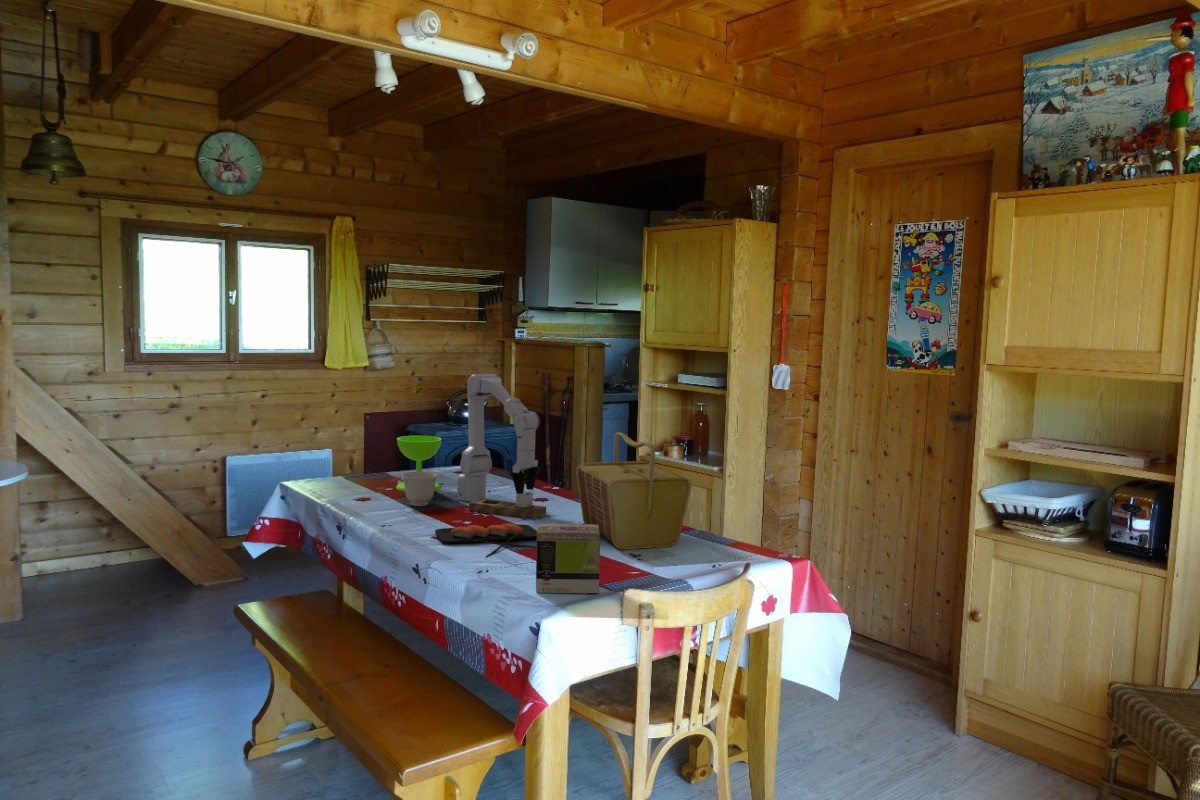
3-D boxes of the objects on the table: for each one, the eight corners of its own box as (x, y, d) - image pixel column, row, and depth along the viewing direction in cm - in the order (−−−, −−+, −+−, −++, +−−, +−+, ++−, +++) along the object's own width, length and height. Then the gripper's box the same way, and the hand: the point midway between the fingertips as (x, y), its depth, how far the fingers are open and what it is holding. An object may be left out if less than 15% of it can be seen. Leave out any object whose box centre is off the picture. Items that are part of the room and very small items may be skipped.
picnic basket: (572, 528, 265) (575, 431, 262) (649, 524, 275) (653, 430, 272) (606, 553, 238) (610, 446, 235) (690, 548, 247) (696, 444, 244)
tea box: (597, 582, 213) (599, 523, 211) (598, 595, 203) (601, 533, 201) (536, 580, 212) (538, 521, 211) (534, 593, 202) (536, 531, 201)
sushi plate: (528, 529, 264) (528, 517, 263) (559, 556, 236) (559, 543, 235) (432, 535, 253) (432, 522, 253) (453, 564, 225) (453, 549, 225)
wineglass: (392, 484, 321) (392, 436, 319) (434, 482, 327) (435, 435, 326) (401, 493, 306) (402, 442, 304) (445, 490, 313) (446, 441, 311)
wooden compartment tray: (469, 510, 283) (469, 502, 283) (480, 505, 291) (481, 497, 290) (535, 519, 275) (535, 510, 275) (546, 514, 282) (546, 505, 282)
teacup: (444, 499, 298) (445, 471, 297) (431, 509, 283) (432, 479, 282) (410, 497, 299) (410, 469, 298) (395, 507, 284) (396, 477, 283)
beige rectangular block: (515, 515, 280) (516, 493, 279) (521, 512, 283) (521, 491, 283) (526, 516, 278) (527, 495, 277) (532, 514, 282) (532, 492, 281)
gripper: (527, 453, 270) (526, 496, 272) (546, 448, 284) (545, 488, 285) (507, 451, 273) (506, 494, 274) (527, 446, 286) (526, 486, 288)
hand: (524, 491), depth 280 cm, fingers open, 7 cm apart
